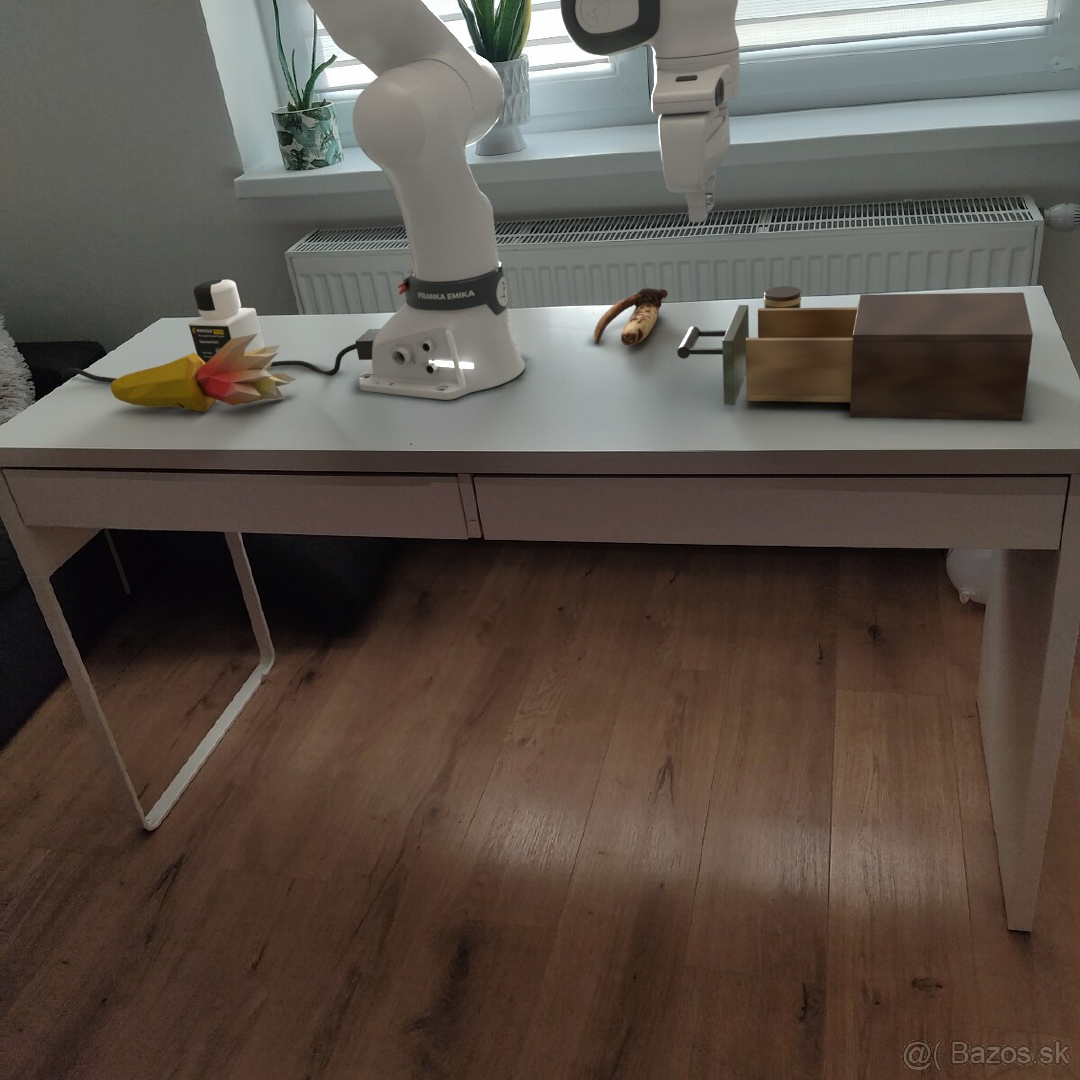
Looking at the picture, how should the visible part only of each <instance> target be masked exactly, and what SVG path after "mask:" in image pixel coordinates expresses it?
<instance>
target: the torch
mask: <svg viewBox="0 0 1080 1080" xmlns="http://www.w3.org/2000/svg"><path fill="white" fill-rule="evenodd" d="M256 335H257V334H253V335H248V336H243V337H238V338H233V339H231V340H230V341H229V342H228V343H227V344H225V345H224V346H223V347H222V348H221V349H220V350H219V351H218V352H217V353H216V354H215V355H214V356H213V357H212V358H211V359H210V360H209V361H208V362H207V363H205V362H204V361H203V360H202V359H201V358H200V357H199V356H198V355H197V352H192V353H189V354H187V355H184V356H182V357H180V358H178V359H176V360H173V361H170V362H168V363H165V364H162V365H158V366H154V367H151V368H146V369H143V370H138V371H135V372H130V373H127V374H124V375H122V376H120V377H118V378H117V379H116V380H114V381H113V382H112V383H110V391H111V393H112V395H113V397H114V398H115V399H116V400H118V401H120V402H124V403H127V404H130V405H134V406H141V407H150V408H151V407H153V408H155V407H157V408H160V407H163V408H165V407H168V408H169V407H171V408H172V407H174V408H179V409H187V410H189V411H196V412H200V413H201V412H202V413H207V411H208V410H210V408H211V407H212V406H213V405H214V404H215V403H216V402H217V401H220V402H223V403H227V404H229V405H230V406H231V407H234V406H239V405H243V404H250V403H253V402H257V401H261V400H285V399H286V398H285V396H284V395H283V394H282V393H281V391H280V390H279V388H278V387H281V386H285V385H289V384H291V383H290V382H294V381H297V380H298V379H297V378H294V377H292V376H290V375H288V374H286V373H275V374H274V373H273V374H270V373H269V372H268V369H270V368H271V367H270V366H271V365H272V362H274V361H273V359H274V358H275V357H276V356H277V355H278V354H279V353H280V352H276V351H277V349H278V348H279V347H281V345H280V344H279V345H272V346H265V347H264V348H260V349H257V350H254V351H251V352H247V353H245V348H246V347H247V346H248V344H249V343H250V342H251V341H252V340H253V339H254V338H255V336H256Z"/></svg>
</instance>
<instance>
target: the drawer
mask: <svg viewBox="0 0 1080 1080" xmlns="http://www.w3.org/2000/svg"><path fill="white" fill-rule="evenodd" d="M857 309H858V306H856V307H855V306H854V307H852V306H851V307H850V306H849V307H846V306H845V307H843V306H842V307H801V308H763V307H760V308H758V309H757V337H750V324H749V319H750V318H749V317H750V315H749V314H750V313H749V304H738V306H737V308H736V310H735V312H734V314H733V316H732V319H731V321H730V323H729V325H728V327H727V330H726V329H725V330H722V329H721V330H719V329H718V330H700V328H699V327H698V326H695V325H694V326H691V327H689V328H688V330H687V331H686V333H685V335H684V337H683V339H682V341H681V343H680V345H679V346H678V348H677V351H676V355H677V356H678V357H679V358H680V359H682V360H683V359H684V360H685V359H687V358H689V357H690V355H704V356H705V355H707V356H708V355H711V356H712V355H714V356H715V355H717V356H718V355H722V383H723V384H722V387H723V405H724V406H735V404H736V401H737V399H738V396H739V394H740V391H741V388H742V386H743V384H744V380H745V379H746V380H745V381H746V382H745V383H746V384H745V385H746V401H747V402H749V401H751V402H809V403H810V402H812V403H850V401H851V374H852V346H853V332H854V326H855V320H856V315H857ZM700 337H701V338H702V337H703V338H704V337H705V338H706V337H709V338H713V337H714V338H716V337H717V338H720V337H721V338H723V339H722V341H721V345H722V347H695V345H696V344H697V341H698V339H699V338H700ZM745 377H746V378H745Z"/></svg>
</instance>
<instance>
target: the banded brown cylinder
mask: <svg viewBox="0 0 1080 1080" xmlns="http://www.w3.org/2000/svg"><path fill="white" fill-rule="evenodd" d="M763 295H764V296H763V304H764V305H763V307H764V308H802V305H801V303H802V291H801V289H800V288H798V287H795V286H789V285H788V286H787V285H784V286H783V285H781V286H775V287H770V288H768V289H766V290H765V291H764V293H763Z"/></svg>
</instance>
